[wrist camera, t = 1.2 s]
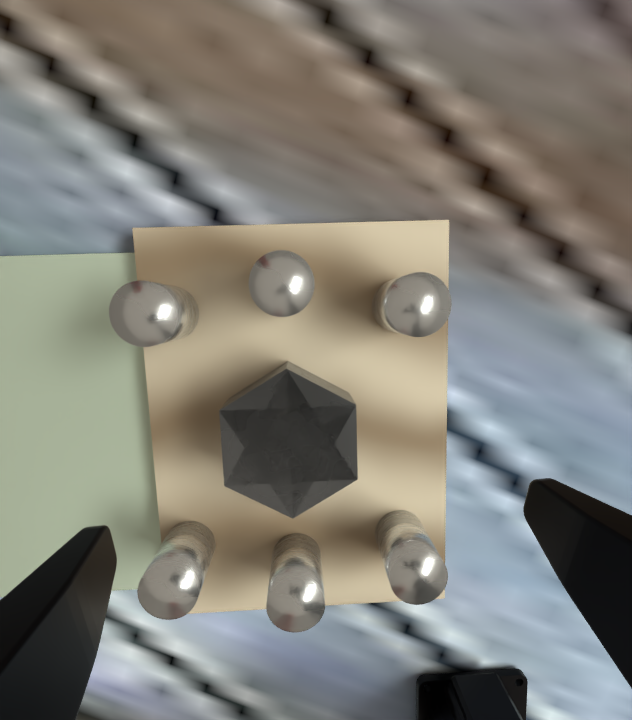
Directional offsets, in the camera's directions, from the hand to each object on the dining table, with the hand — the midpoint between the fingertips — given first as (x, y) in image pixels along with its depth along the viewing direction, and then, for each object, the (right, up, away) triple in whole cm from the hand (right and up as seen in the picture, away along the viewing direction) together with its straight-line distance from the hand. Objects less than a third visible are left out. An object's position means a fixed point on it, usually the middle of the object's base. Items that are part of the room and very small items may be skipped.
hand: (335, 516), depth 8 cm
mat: (-14, 0, +12) cm, 18 cm away
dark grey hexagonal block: (-2, 0, +11) cm, 12 cm away
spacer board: (-1, 0, +13) cm, 13 cm away
